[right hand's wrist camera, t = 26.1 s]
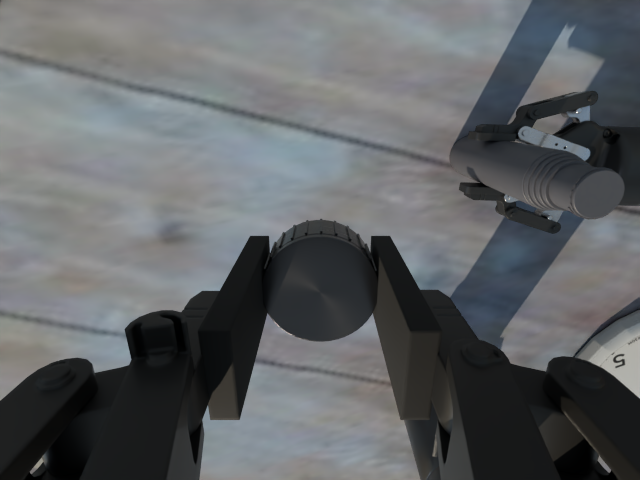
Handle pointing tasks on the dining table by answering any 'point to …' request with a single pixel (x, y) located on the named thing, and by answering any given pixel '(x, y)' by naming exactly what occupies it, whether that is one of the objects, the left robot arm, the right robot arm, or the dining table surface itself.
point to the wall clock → (618, 351)
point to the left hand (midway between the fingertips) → (467, 162)
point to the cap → (320, 281)
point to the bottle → (540, 176)
